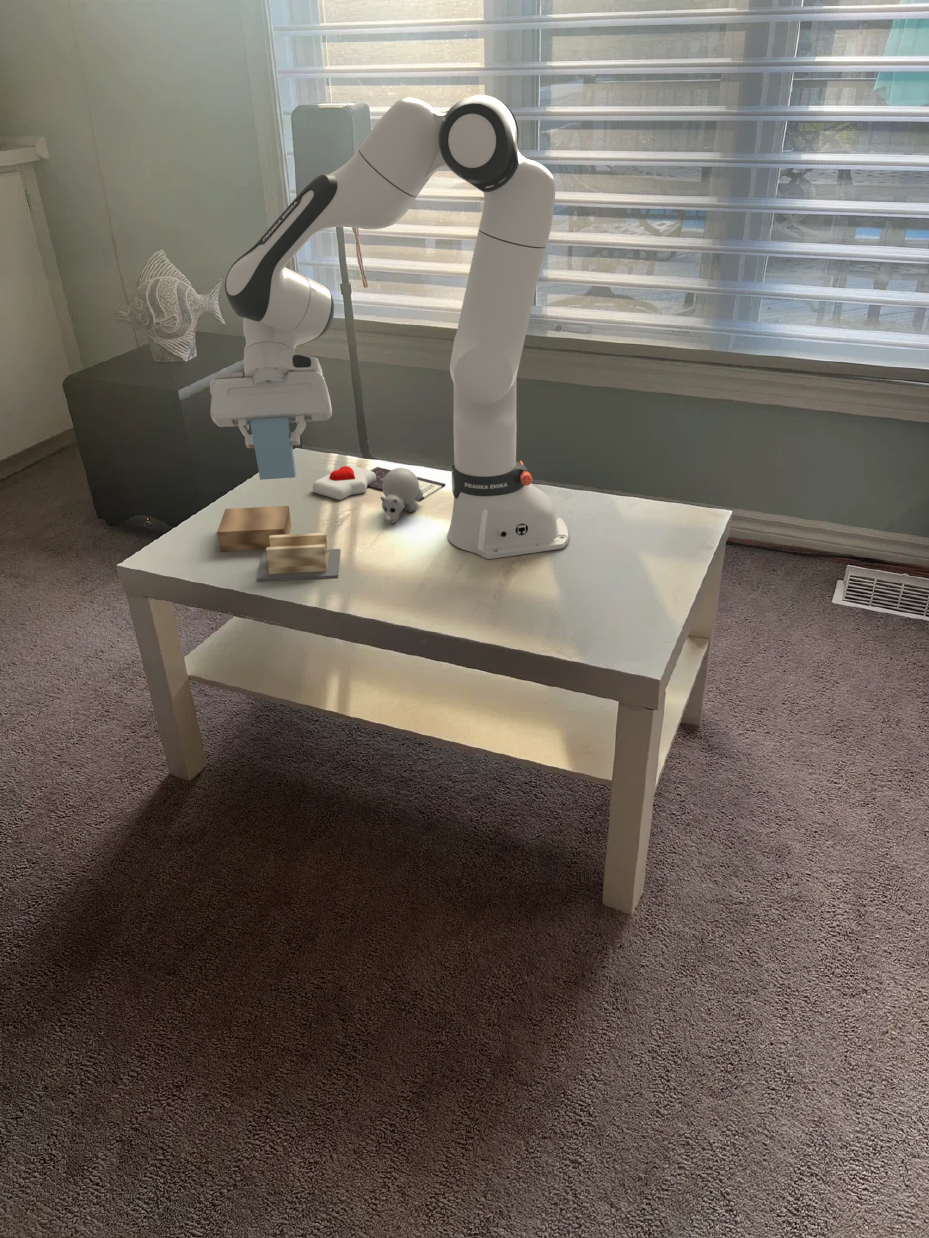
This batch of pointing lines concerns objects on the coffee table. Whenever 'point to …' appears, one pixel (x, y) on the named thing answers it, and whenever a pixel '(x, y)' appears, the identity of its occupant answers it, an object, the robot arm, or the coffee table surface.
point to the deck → (252, 527)
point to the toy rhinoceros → (400, 493)
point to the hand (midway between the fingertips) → (272, 445)
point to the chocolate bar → (424, 484)
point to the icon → (344, 482)
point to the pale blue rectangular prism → (273, 448)
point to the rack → (297, 553)
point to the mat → (330, 573)
